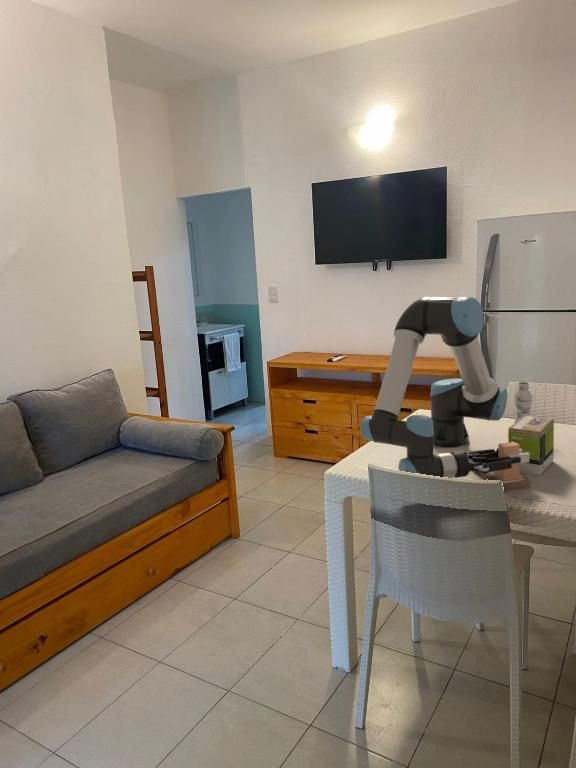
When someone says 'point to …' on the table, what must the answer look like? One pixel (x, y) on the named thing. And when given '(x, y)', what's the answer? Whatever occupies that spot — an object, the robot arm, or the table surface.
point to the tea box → (534, 442)
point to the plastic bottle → (522, 401)
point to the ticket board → (507, 484)
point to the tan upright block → (504, 451)
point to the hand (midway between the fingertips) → (524, 455)
